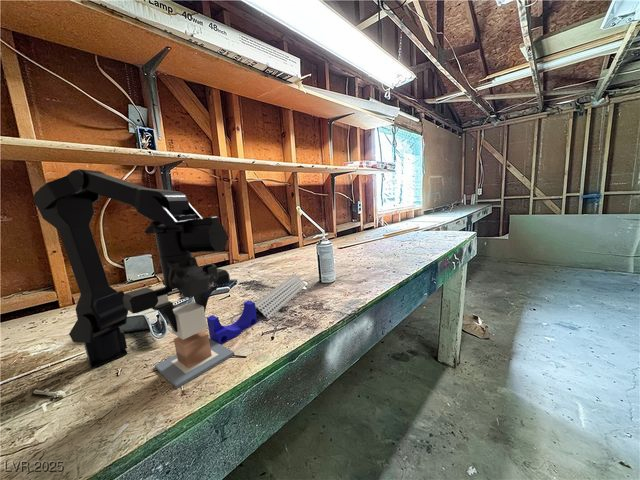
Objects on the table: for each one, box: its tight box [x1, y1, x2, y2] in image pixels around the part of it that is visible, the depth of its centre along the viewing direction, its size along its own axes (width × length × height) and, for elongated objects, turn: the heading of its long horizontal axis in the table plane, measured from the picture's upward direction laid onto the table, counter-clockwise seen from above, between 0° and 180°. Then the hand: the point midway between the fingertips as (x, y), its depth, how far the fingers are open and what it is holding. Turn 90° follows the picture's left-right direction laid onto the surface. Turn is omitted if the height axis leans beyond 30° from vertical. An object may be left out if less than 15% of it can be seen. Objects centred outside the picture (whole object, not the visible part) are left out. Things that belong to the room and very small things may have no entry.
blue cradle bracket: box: [206, 300, 258, 345], centre depth 65 cm, size 12×4×6 cm, turn 139°
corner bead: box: [254, 273, 307, 320], centre depth 85 cm, size 29×9×5 cm, turn 161°
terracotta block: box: [173, 330, 212, 368], centre depth 54 cm, size 5×5×5 cm
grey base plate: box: [154, 337, 235, 389], centre depth 54 cm, size 12×11×1 cm
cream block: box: [171, 301, 208, 340], centre depth 53 cm, size 5×5×5 cm
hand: (189, 326), depth 53 cm, fingers closed on cream block, 5 cm apart
